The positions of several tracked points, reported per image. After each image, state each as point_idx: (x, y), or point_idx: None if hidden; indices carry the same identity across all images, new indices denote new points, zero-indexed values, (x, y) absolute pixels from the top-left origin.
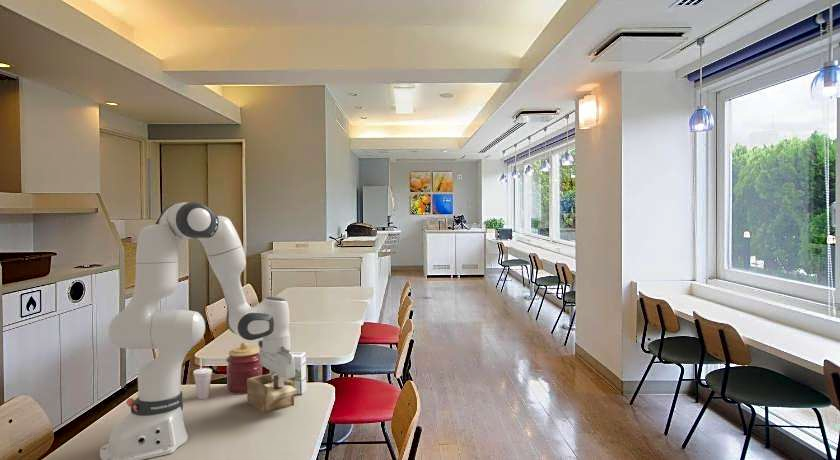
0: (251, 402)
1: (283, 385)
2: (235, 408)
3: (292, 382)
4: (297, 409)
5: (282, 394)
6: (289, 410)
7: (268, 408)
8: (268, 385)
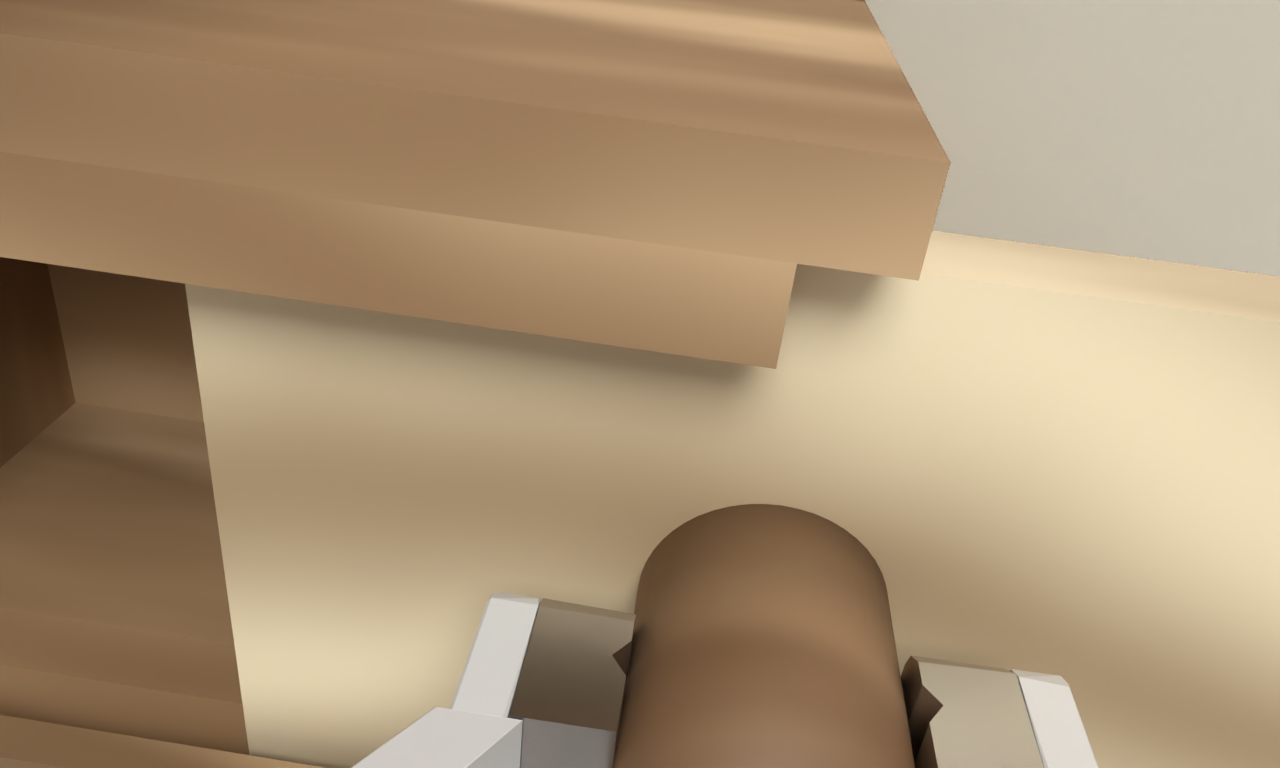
0: None
1: (1065, 689)
2: None
3: (928, 203)
4: (1132, 88)
5: (1272, 752)
6: (1018, 232)
7: None
8: (382, 639)
